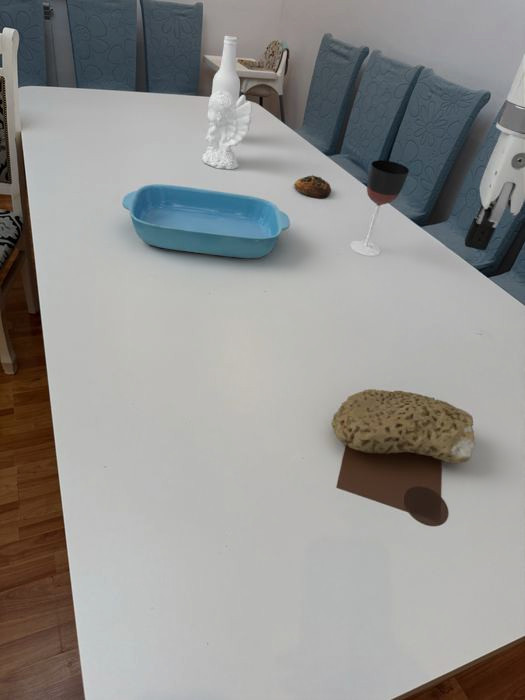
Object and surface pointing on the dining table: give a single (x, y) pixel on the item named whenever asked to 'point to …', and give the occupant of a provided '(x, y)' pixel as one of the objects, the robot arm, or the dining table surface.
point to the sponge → (404, 425)
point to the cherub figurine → (226, 128)
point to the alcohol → (227, 71)
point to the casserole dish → (205, 220)
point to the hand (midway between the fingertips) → (474, 246)
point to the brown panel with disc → (396, 482)
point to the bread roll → (313, 186)
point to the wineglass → (381, 195)
